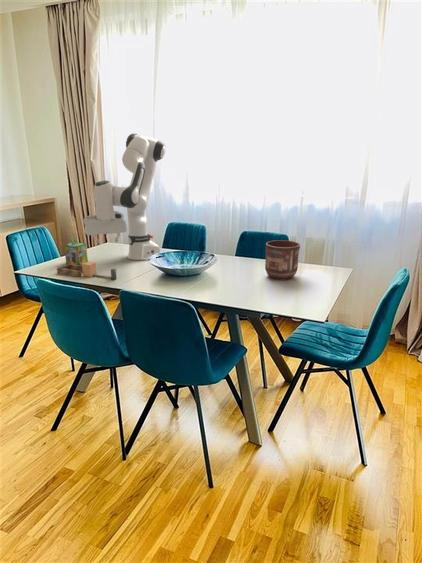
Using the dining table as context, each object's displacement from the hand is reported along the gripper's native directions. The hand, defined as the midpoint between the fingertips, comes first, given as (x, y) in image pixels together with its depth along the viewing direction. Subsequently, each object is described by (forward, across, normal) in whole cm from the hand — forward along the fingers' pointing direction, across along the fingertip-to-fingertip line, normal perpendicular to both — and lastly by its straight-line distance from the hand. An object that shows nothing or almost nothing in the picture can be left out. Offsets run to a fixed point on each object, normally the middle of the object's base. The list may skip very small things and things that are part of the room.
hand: (107, 242), depth 210 cm
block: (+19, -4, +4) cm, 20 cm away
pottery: (+20, +85, -29) cm, 92 cm away
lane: (+19, -16, +16) cm, 30 cm away
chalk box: (+20, -13, +36) cm, 43 cm away
